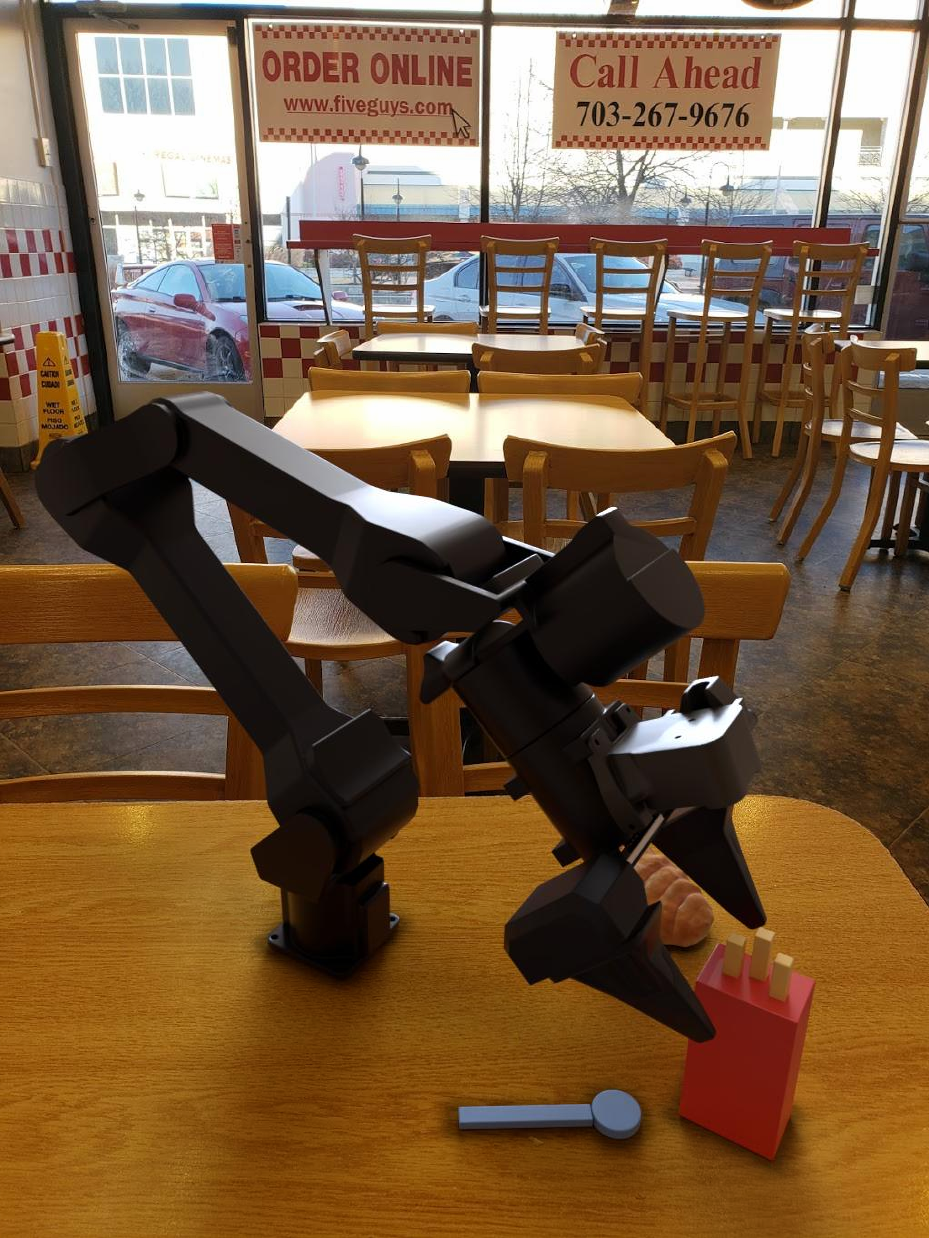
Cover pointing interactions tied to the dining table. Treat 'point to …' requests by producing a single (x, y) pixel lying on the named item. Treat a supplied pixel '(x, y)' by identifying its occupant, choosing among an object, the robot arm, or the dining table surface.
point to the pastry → (674, 900)
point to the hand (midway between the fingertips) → (735, 978)
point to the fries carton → (748, 1044)
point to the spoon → (561, 1115)
